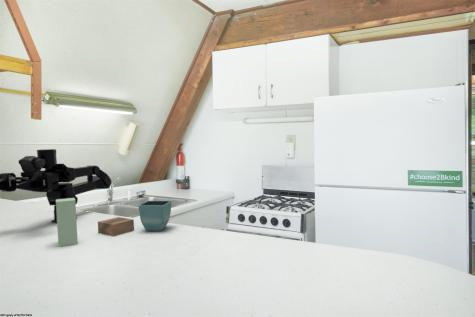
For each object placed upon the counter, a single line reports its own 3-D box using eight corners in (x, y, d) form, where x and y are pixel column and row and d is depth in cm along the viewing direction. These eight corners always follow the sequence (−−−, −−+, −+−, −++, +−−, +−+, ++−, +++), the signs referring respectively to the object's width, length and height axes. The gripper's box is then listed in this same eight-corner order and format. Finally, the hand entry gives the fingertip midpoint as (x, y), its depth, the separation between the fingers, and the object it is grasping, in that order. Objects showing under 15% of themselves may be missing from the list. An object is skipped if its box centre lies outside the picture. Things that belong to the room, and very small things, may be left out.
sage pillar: (58, 242, 105) (55, 199, 104) (76, 239, 107) (74, 197, 107) (58, 246, 101) (56, 202, 100) (77, 244, 103) (75, 200, 102)
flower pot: (173, 225, 121) (172, 200, 121) (165, 232, 113) (164, 205, 112) (148, 226, 122) (147, 200, 122) (138, 232, 114) (137, 205, 113)
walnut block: (98, 233, 115) (97, 221, 114) (118, 228, 121) (118, 216, 121) (113, 237, 110) (113, 224, 110) (134, 231, 117) (133, 219, 117)
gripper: (17, 156, 125) (-24, 161, 110) (63, 155, 121) (27, 160, 105) (20, 187, 126) (-20, 196, 111) (66, 187, 122) (30, 196, 107)
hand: (4, 186), depth 108 cm, fingers open, 9 cm apart
